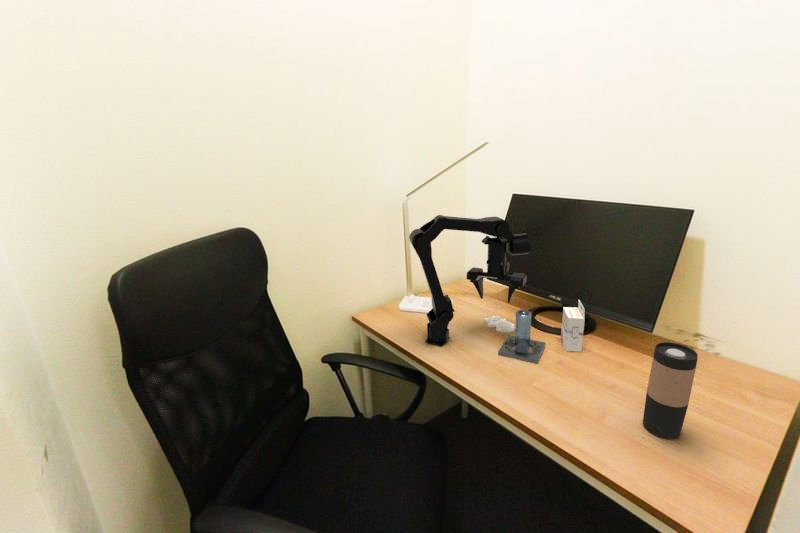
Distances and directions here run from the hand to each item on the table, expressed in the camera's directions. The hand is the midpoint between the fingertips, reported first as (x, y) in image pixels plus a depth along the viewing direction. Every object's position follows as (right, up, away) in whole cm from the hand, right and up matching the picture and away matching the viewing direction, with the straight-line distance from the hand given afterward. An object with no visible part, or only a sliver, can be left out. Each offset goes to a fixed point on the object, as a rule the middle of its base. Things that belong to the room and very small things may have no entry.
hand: (495, 300), depth 127 cm
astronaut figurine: (+4, -10, +11) cm, 16 cm away
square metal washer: (+7, -15, -6) cm, 18 cm away
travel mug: (+27, -26, -41) cm, 56 cm away
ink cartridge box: (+23, -14, -5) cm, 28 cm away
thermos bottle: (+7, -15, -6) cm, 18 cm away
